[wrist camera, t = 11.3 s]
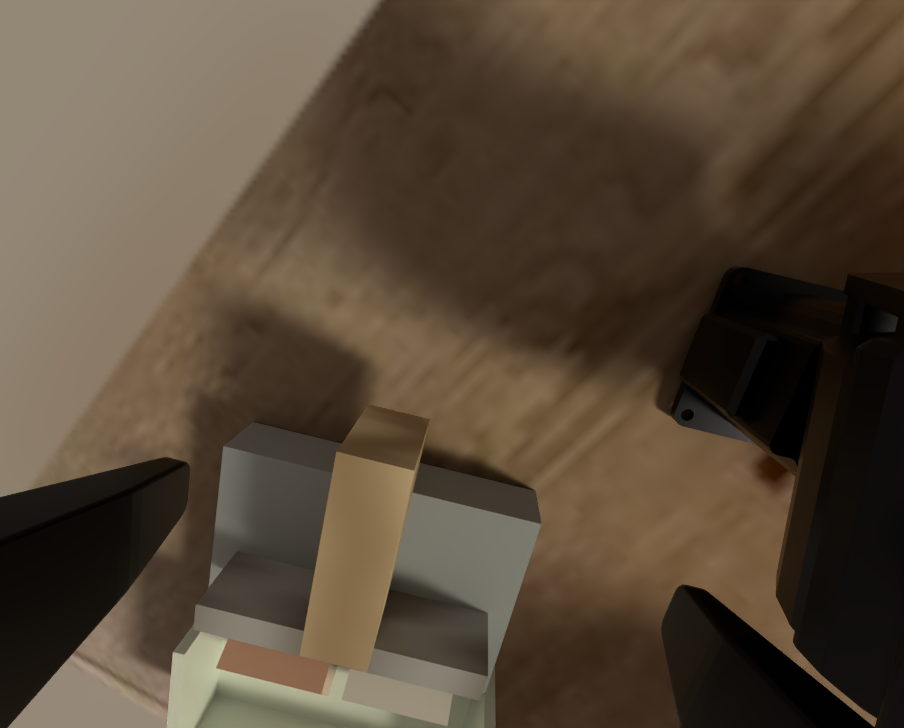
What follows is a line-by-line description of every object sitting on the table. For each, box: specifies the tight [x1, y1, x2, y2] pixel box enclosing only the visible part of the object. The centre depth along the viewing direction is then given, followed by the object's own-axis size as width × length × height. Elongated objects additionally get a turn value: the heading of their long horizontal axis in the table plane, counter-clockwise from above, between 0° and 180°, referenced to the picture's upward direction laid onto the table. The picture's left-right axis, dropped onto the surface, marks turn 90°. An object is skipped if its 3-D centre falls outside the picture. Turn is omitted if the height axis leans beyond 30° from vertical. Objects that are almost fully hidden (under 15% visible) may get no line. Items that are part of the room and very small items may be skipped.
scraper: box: [193, 404, 488, 701], centre depth 18 cm, size 11×9×4 cm
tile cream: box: [342, 669, 453, 726], centre depth 22 cm, size 4×4×2 cm
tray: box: [167, 624, 496, 728], centre depth 23 cm, size 14×7×4 cm, turn 77°
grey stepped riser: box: [209, 422, 541, 693], centre depth 22 cm, size 13×9×2 cm
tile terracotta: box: [216, 638, 337, 697], centre depth 22 cm, size 4×4×2 cm
